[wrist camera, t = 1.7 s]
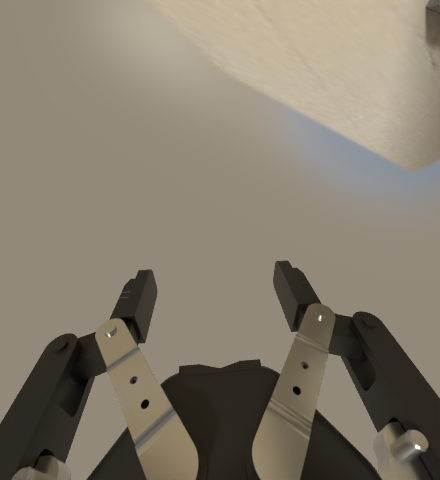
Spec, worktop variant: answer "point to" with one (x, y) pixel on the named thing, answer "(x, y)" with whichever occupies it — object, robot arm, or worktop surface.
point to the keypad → (434, 5)
